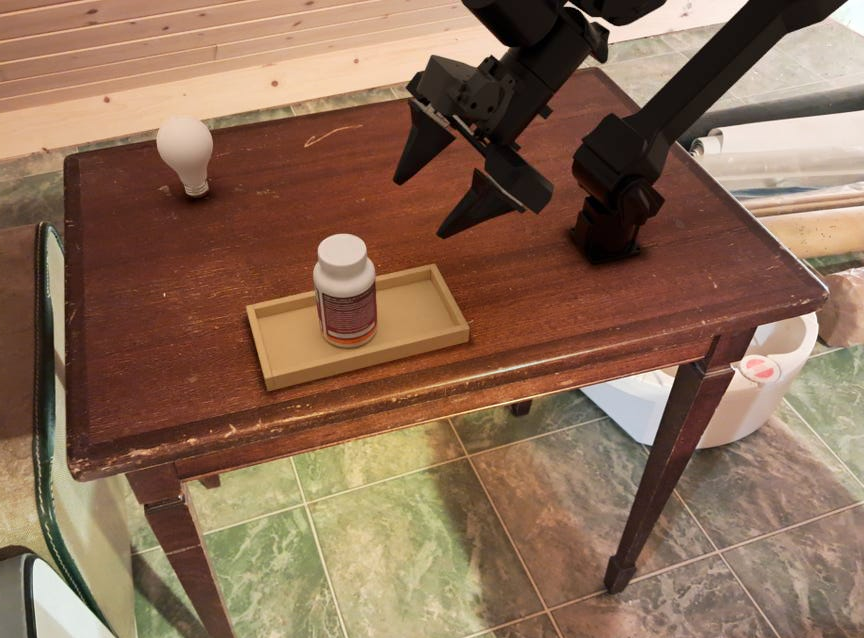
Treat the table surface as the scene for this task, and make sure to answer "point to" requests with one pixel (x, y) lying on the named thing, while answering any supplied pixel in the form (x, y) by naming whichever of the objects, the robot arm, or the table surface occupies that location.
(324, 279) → the pill bottle
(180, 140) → the light bulb
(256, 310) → the tray
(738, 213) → the table surface
